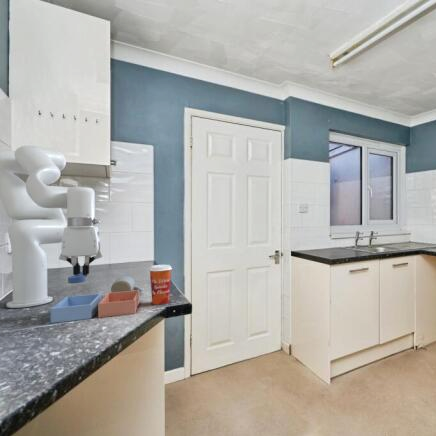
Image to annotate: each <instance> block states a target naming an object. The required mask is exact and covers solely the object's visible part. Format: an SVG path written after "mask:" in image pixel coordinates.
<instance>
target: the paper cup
mask: <svg viewBox="0 0 436 436" xmlns="http://www.w3.org/2000/svg"><path fill="white" fill-rule="evenodd" d="M172 269H173V268H172V266H171V265H170V264H155V265H151V266H150V268H149V269H148V272H149V277H150V287H151V288H150V291H151V303H152V305H158V306H159V305H165V304H168V303H170V292H171V277H172Z"/></svg>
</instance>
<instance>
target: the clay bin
mask: <svg viewBox="0 0 436 436" xmlns="http://www.w3.org/2000/svg"><path fill="white" fill-rule="evenodd" d="M140 298H141V295H140V290H133V291H123V292H107V293H106V294H105V296H103V297H102V300H101V301H100V303H99V304H98V311H97V316H98V319H99V318H108V317H115V316H123V315H124V316H125V315H134V314H136V312H137V310H138V307H139V304H140V302H141V301H140V300H141V299H140ZM121 299H125V301H120V300H121Z"/></svg>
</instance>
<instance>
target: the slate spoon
mask: <svg viewBox="0 0 436 436" xmlns="http://www.w3.org/2000/svg"><path fill="white" fill-rule="evenodd" d="M84 282H86V277H85V275H83V270H80V273H79V274H77V275H70V276H68V277H67V283H68V284H79V283H84Z"/></svg>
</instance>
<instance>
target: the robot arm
mask: <svg viewBox="0 0 436 436" xmlns="http://www.w3.org/2000/svg"><path fill="white" fill-rule="evenodd" d="M66 165H67V160H66V157H65V155H64V154H63V153H62V152H61V151H59V150H57V149H54V148H53V149H52V148H47V147H41V146H35V145H22V146H20V147H18V148H16V150H7V149H0V199H1V202H2V205H3V207H4V210H5V213H6V214H7V216H8V217H9V218H10V219H12V220H16V221H14V222H12V223H11V224H10V225H9V226H8V229H7V234H8V239H9V242H10V247H11V263H12V264H11V268H12V269H11V270H12V272H11V273H12V274H11V277H12V279H11V280H12V300H11V301H8V302H7V303H6V308H8V309H21V308H29V307H30V308H31V307H36V306H41V305H42V306H43V305H45V304H48V303H51V302H53V301H54V298H53V296H48V255H47V252H46V251H45V250H44V249H43V248H42V247H41V246H40V245H48V244H61V248H60V250H61V253H60V255H59V257H58V259H59V260H60V261H64V262H67V263H69V264H70V265H71V266H72V274H73V275H72V276H74V275H77V274H79V273H80V272H81V265H80V263H79V257H84V263H83V265H82V271H83V275H85V278H86V277H87V276H88V275H89V274H90V264H92V263H93V262H94V261H95V260H99V259H101V258H103V254H102V251H101V237H100V230H99V227H98V226H96V225H97V224H99V225H100V224H101V219H97V218H96V193H95V190H94V189H93V188H92V187H86V186H71V187H67V186H59V185H58V186H57V185H51V184H54V183H55V182H57V181H58V180H59V179H60V177H61V174H62V173H61V171H63V170H64V169H65V168H66ZM15 174H19V175H28V177H27V178H26V181H24V180H23V179H21V178H20V177H19V176H18V175H15ZM63 209H65V210H66V217H65V214H64V211H63Z"/></svg>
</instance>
